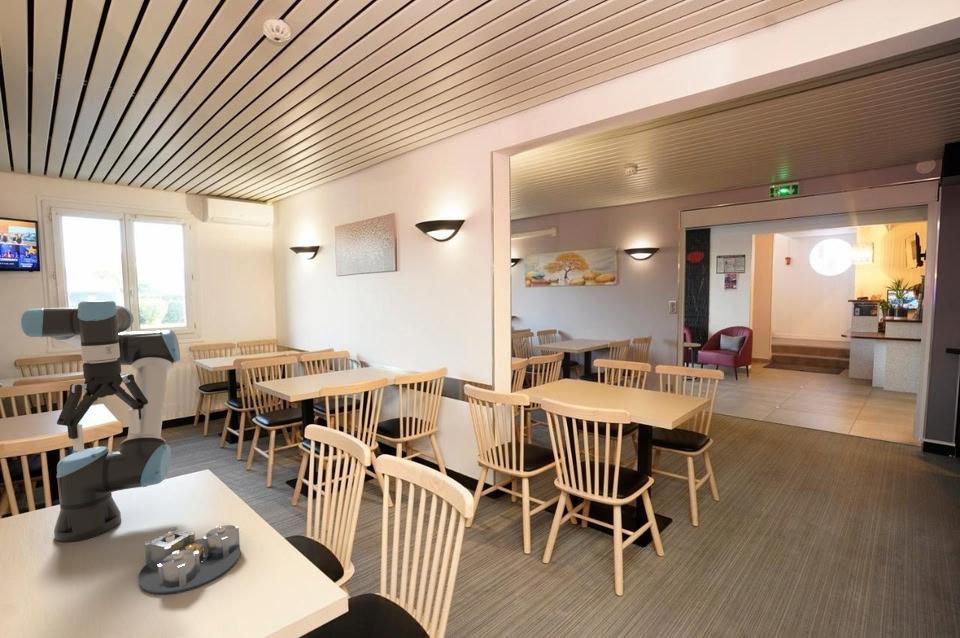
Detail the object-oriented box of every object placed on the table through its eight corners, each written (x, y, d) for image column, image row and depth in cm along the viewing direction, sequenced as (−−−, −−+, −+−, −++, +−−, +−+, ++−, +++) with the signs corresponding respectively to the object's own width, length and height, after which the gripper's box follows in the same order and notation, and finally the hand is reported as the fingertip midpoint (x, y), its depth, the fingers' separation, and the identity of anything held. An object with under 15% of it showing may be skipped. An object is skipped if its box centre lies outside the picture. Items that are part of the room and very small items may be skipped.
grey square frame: (143, 563, 116) (141, 544, 116) (175, 544, 125) (173, 527, 124) (168, 569, 114) (166, 550, 113) (198, 549, 122) (197, 531, 122)
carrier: (134, 564, 118) (131, 535, 117) (228, 532, 133) (227, 506, 132) (144, 608, 102) (142, 575, 101) (251, 566, 116) (249, 537, 116)
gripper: (53, 370, 104) (62, 460, 106) (159, 353, 128) (165, 427, 129) (32, 369, 106) (40, 457, 108) (140, 352, 130) (145, 425, 132)
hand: (108, 441), depth 119 cm, fingers open, 13 cm apart
